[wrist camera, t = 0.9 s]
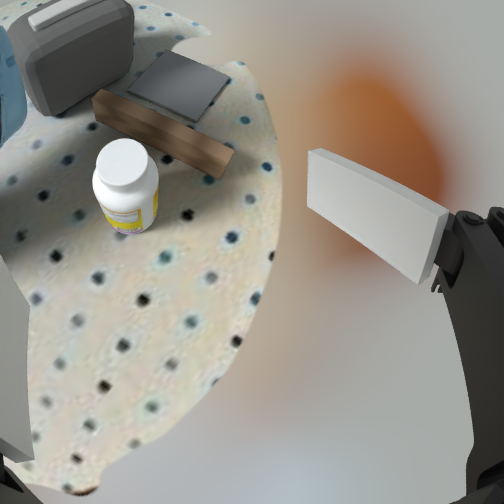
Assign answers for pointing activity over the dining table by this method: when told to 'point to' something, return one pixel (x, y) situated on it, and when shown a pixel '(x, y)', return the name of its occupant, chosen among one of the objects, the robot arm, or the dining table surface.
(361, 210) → the robot arm
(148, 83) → the rubber mat
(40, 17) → the alarm clock
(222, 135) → the dining table surface
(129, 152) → the supplement bottle
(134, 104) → the walnut rail
